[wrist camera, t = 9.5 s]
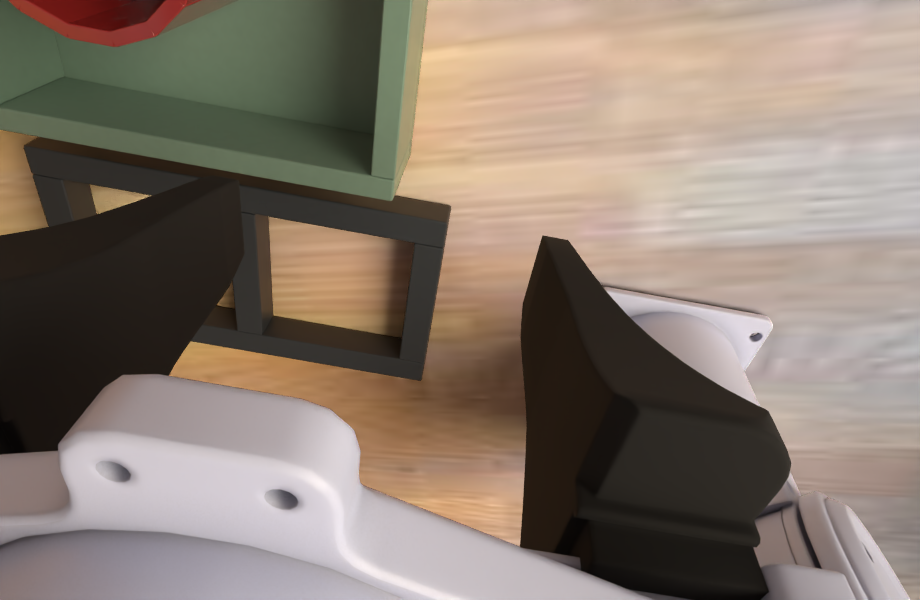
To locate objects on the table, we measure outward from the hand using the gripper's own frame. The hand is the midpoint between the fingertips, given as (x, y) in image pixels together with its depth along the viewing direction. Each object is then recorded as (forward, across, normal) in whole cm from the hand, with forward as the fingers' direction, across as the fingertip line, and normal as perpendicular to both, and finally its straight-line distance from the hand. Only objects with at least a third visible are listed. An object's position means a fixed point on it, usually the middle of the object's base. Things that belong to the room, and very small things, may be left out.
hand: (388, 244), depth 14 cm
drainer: (+9, +7, +8) cm, 14 cm away
